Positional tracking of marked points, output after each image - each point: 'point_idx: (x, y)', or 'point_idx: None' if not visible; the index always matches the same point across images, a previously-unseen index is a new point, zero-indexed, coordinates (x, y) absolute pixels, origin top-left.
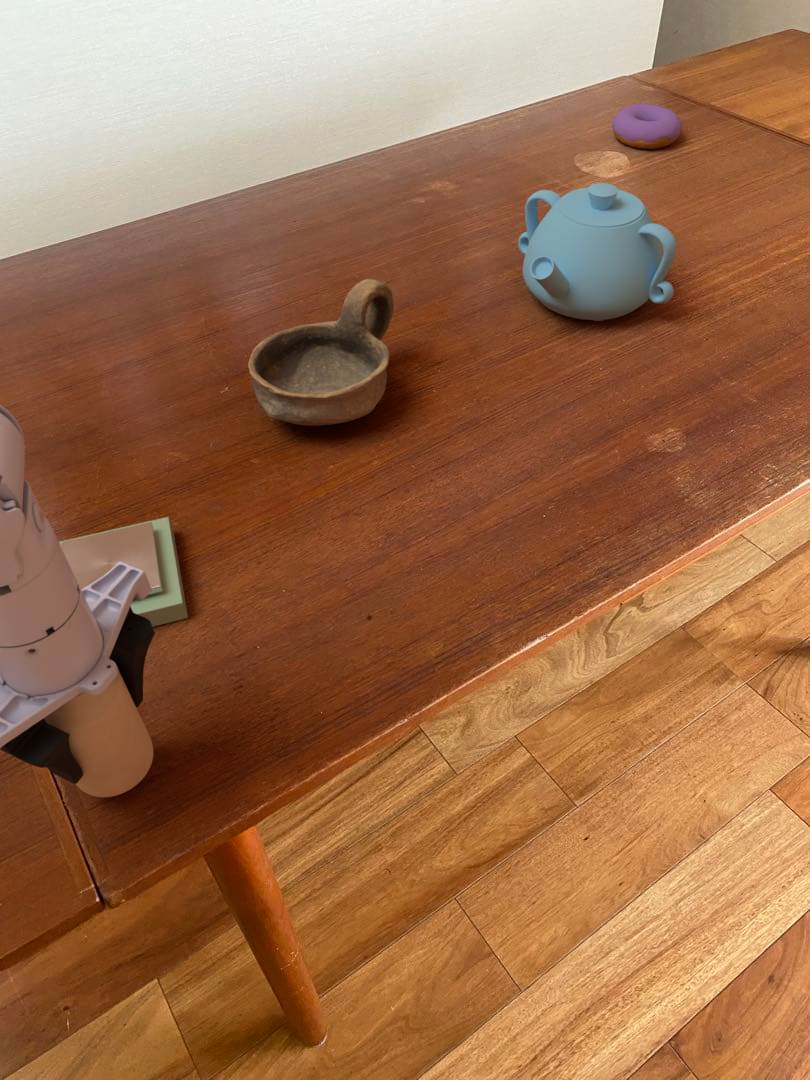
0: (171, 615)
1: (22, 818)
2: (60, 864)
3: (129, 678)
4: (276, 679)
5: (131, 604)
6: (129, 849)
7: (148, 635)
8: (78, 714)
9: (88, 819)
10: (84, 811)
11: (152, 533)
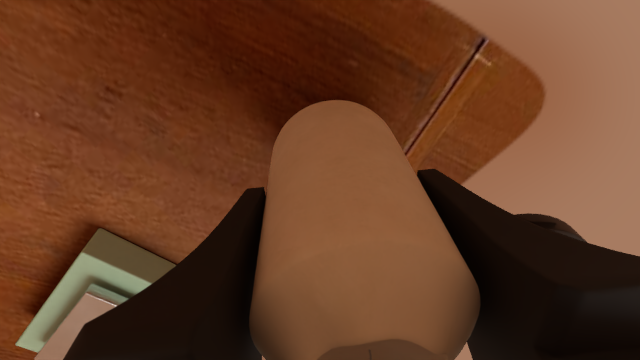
0: (113, 246)
1: None
2: (465, 115)
3: (243, 248)
4: (47, 43)
5: None
6: (414, 48)
7: (93, 356)
8: (438, 292)
9: (400, 129)
10: None
11: (43, 348)
